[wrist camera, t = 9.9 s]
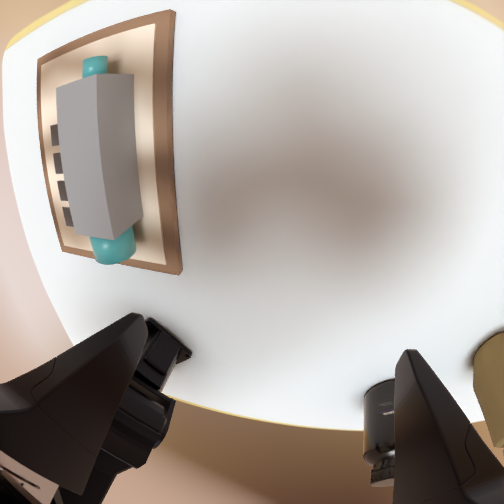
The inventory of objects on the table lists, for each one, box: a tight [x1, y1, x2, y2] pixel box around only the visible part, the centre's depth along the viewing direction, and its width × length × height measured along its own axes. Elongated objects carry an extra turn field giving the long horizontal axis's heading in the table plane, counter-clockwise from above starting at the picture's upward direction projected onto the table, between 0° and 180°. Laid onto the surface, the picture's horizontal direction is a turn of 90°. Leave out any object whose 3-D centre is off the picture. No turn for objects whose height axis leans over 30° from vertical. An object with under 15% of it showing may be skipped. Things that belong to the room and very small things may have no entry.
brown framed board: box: [37, 9, 183, 275], centre depth 19 cm, size 21×15×1 cm
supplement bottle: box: [363, 380, 395, 487], centre depth 22 cm, size 7×7×12 cm
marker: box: [56, 56, 143, 265], centre depth 17 cm, size 15×4×4 cm, turn 178°
